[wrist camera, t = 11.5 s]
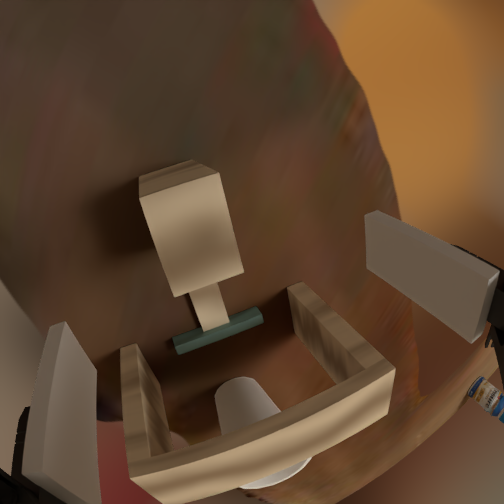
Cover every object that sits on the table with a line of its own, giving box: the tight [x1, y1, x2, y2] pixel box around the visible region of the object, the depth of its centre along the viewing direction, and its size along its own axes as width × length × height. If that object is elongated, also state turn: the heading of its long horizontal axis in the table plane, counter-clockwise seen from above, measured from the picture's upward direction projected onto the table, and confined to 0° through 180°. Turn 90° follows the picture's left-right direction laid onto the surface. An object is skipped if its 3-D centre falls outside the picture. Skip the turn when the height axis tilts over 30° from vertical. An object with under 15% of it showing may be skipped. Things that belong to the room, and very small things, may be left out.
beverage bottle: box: [468, 376, 504, 423], centre depth 73 cm, size 8×8×20 cm
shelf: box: [120, 281, 396, 504], centre depth 28 cm, size 7×22×16 cm, turn 103°
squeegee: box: [139, 160, 264, 355], centre depth 26 cm, size 18×10×10 cm, turn 13°
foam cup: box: [214, 377, 312, 489], centre depth 34 cm, size 10×9×13 cm
